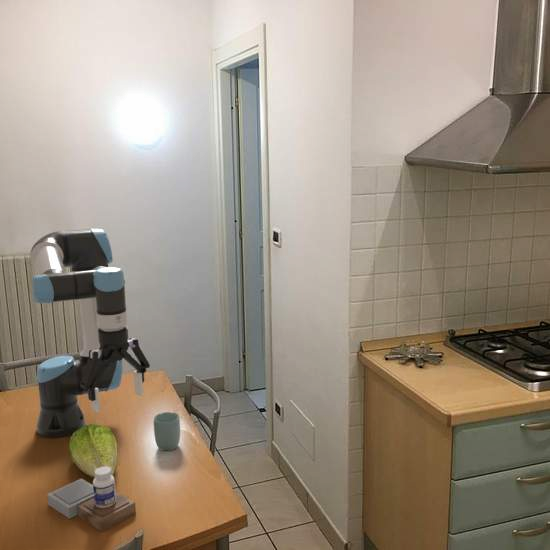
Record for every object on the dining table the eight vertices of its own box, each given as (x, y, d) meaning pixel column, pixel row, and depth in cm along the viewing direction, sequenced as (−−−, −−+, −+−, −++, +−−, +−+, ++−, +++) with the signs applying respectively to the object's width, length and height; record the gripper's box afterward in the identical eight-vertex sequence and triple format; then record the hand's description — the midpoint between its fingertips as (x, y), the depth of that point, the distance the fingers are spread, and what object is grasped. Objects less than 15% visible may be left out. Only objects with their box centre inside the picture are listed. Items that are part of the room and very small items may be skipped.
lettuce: (74, 479, 166) (111, 445, 169) (58, 437, 187) (91, 407, 190) (103, 504, 172) (139, 470, 174) (84, 461, 193) (116, 431, 195)
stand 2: (78, 516, 158) (77, 504, 157) (112, 499, 165) (111, 488, 165) (101, 531, 152) (100, 519, 151) (135, 513, 159) (134, 501, 158)
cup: (175, 454, 189) (174, 423, 187) (151, 452, 190) (149, 421, 188) (184, 442, 196) (182, 412, 194) (161, 440, 198) (159, 411, 196)
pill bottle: (96, 497, 160) (94, 465, 159) (117, 496, 161) (115, 464, 159) (92, 509, 155) (89, 476, 153) (114, 507, 156) (111, 475, 154)
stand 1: (48, 504, 164) (47, 493, 163) (82, 488, 171) (81, 477, 170) (69, 518, 157) (68, 506, 157) (103, 501, 165) (102, 489, 164)
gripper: (77, 342, 153) (84, 422, 158) (159, 318, 171) (163, 391, 176) (61, 335, 158) (68, 414, 163) (143, 313, 176) (147, 384, 181)
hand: (118, 402), depth 170 cm, fingers open, 13 cm apart
